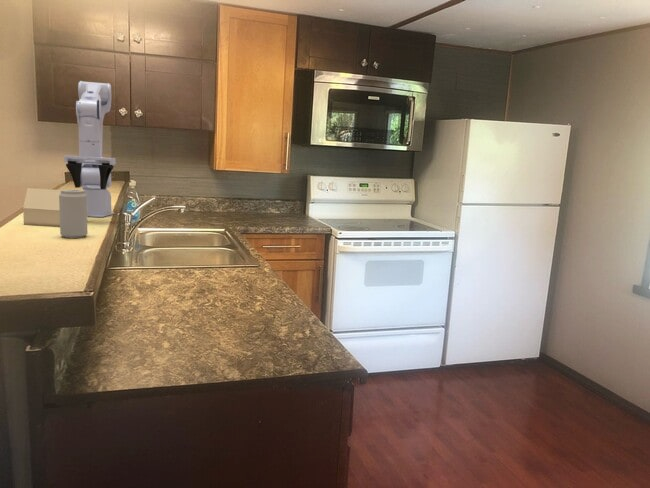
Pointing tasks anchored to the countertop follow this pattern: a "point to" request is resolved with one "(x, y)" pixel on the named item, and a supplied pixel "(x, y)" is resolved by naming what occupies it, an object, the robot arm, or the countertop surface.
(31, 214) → the carton
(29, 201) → the flap
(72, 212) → the beverage can
